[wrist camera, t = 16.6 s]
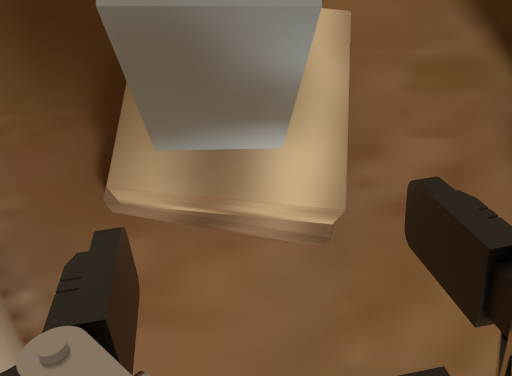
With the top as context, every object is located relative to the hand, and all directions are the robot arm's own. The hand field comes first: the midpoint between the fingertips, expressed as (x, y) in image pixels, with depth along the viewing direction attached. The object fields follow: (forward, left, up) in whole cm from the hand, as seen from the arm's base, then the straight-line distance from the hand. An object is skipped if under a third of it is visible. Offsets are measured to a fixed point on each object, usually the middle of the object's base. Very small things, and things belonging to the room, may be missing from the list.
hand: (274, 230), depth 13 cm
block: (+3, -8, -8) cm, 12 cm away
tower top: (+2, -8, -11) cm, 14 cm away
